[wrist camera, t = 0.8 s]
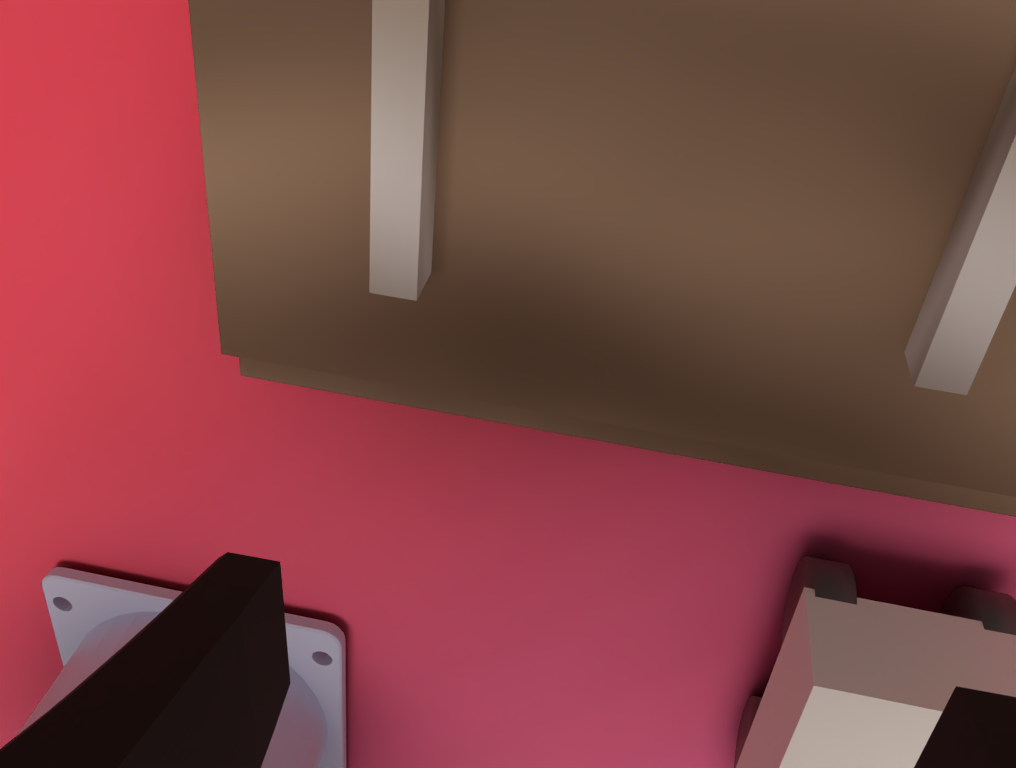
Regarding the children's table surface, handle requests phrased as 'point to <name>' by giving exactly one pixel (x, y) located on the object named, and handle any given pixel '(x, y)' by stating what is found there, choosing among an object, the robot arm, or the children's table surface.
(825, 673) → the beige box with tabs
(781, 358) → the dock
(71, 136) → the children's table surface
